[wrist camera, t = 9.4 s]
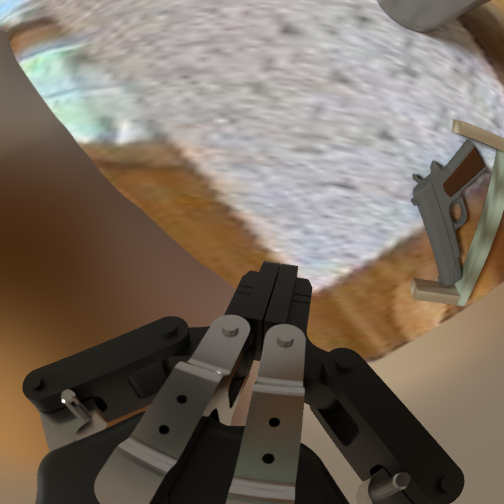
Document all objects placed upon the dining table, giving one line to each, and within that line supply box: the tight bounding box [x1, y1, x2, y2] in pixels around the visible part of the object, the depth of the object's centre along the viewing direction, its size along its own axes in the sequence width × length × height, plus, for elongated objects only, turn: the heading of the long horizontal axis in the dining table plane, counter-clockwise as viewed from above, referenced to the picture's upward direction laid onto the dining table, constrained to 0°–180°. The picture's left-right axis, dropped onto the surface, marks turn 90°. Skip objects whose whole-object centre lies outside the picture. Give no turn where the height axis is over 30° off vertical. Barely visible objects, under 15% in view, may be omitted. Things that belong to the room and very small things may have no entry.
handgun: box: [411, 140, 488, 286], centre depth 29 cm, size 3×18×12 cm
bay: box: [410, 119, 504, 306], centre depth 29 cm, size 25×9×3 cm, turn 178°
